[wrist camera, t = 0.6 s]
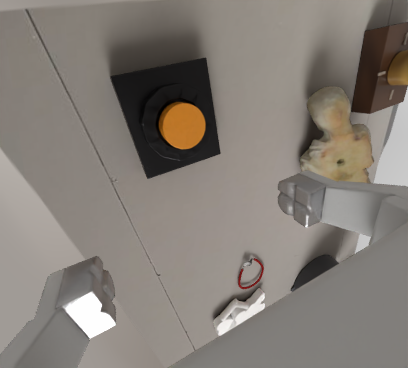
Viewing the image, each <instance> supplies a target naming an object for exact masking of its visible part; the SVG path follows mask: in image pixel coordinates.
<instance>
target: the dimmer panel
mask: <svg viewBox="0 0 408 368" xmlns="http://www.w3.org/2000/svg"><path fill="white" fill-rule="evenodd" d="M405 50H408V22H405V23H400V24H395V25H391V26H386V27H381V28H377V29H372V30H367V31H365V35H364V41H363V47H362V52H361V58H360V64H359V70H358V75H357V81H356V87H355V93H354V98H353V104H352V110H351V112H357V113H367V114H371V113H374V112H376V111H379V110H382V109H385V108H387V107H390V106H393V105H395V104H398V103H401V102H403V101H404V97H405V94H406V90H407V86H408V85H390V84H389V83H388V80H387V75H388V70H389V67H390V65H391V62H392V61H393V59H394V58H395V56H396V55H397V54H398V53H399V52H401V51H405Z"/></svg>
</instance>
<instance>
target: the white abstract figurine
mask: <svg viewBox="0 0 408 368" xmlns="http://www.w3.org/2000/svg"><path fill="white" fill-rule="evenodd" d="M264 298H265V297H264V292H263V291H262V290H261V289H260V288H258V289H257V290H256V291H255V292H254V294H253V295H252V296H251V297H250V298H248V299H247V300H246V301H245V302H242V301H238V300H237V299H234V300H233V301H232V302H231V303H230V304H229V305H228V306H227V307H226V308H225V310H224V311H223V312H222V313H221V314H220V315H219V316H218V317H216V318H215V319H214V321H213V324H214V326H215V330H216V332H217V334H218V335H219V336H221V335H222V334H224V333H226V332H227V331H229V330H231V329H232V328H234V327H236V326H237V325H239V324H240V323H242V322H244V321H245V320H247V319H249V318H250V317H251V316H253V315H254V314H255V313H258V312H260V311H262V310H263V309H264V308H265V303H264V302H263V300H264ZM230 313H231V315H230ZM231 316H232V317H231Z"/></svg>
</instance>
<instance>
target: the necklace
mask: <svg viewBox="0 0 408 368" xmlns="http://www.w3.org/2000/svg"><path fill="white" fill-rule="evenodd" d="M253 260H255V261H257V262H258V263H259V264H260V265H261V267H262V272H261V275H260V277H259V279H258V280H257V281H256V282H255V283H254V284H252V285H251V286H248V287H242V286H241V285H240V280H241V275H242V272H243V269H241V272H240V274H239V280H238V285H239V287H240V288H242V289H247V288H251V287H252V286H254V285H255V284H257V283H258V282H259V281H260V279H261V277H262V275H263V270H264V267H263V264H262V263H261V262H260V261H259V260H258V259H255V258H254V259H253ZM251 264H252V259H251V260H250V261H249V262H245V263H244V265H245V267H246V266H247V265H249V266H250V265H251ZM243 267H244V266H243Z"/></svg>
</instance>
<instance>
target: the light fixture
mask: <svg viewBox="0 0 408 368" xmlns="http://www.w3.org/2000/svg"><path fill="white" fill-rule="evenodd" d="M338 264H339V263H338V262H337V261H336V260H335V259H334V258H332V257H331V256H330V255H323V256H320V257H318V258H316V259H314V260H313V261H312V262H310V263H309V264H308V265H307V266H306V267H305V268H304V269H303V270H302V271H301V273H300V274H299V276H298V277H297V279H296V281H295V283H294V287H293V288H292V289H291V291H292V292H293V291H295V290H296V289H298V288H300V287H301V286H303V285H305V284H306V283H308V282H310V281H311V280H313V279H314V278H316V277H318V276H319V275H321V274H323V273H324V272H326V271H328V270H329V269H331V268H333V267H334V266H336V265H338Z"/></svg>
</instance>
